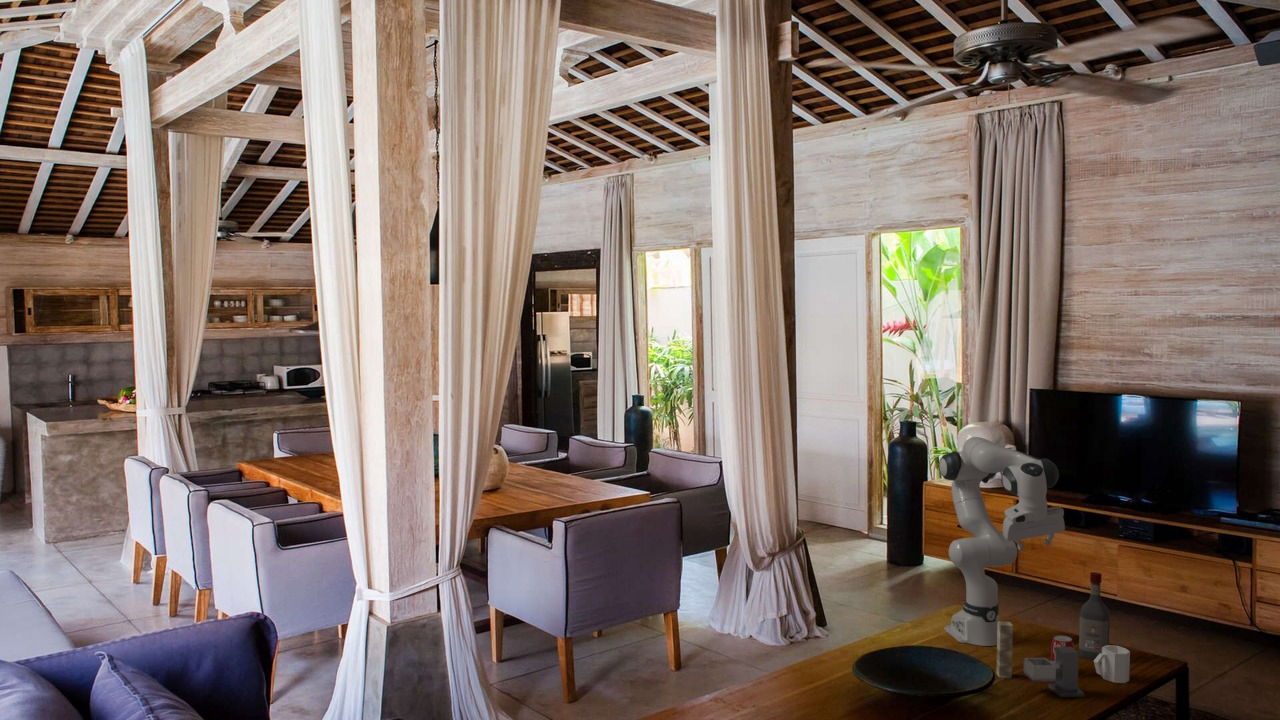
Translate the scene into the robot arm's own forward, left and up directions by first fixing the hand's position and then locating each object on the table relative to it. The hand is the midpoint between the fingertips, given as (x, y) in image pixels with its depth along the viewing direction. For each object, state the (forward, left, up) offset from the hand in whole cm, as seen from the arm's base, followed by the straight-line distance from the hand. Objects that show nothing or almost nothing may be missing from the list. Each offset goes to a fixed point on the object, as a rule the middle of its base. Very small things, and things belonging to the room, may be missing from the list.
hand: (1034, 546), depth 322 cm
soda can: (+3, +10, -44) cm, 45 cm away
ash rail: (0, -11, -43) cm, 45 cm away
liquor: (-7, +32, -44) cm, 54 cm away
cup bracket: (+17, -5, -43) cm, 47 cm away
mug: (+12, +22, -44) cm, 50 cm away
